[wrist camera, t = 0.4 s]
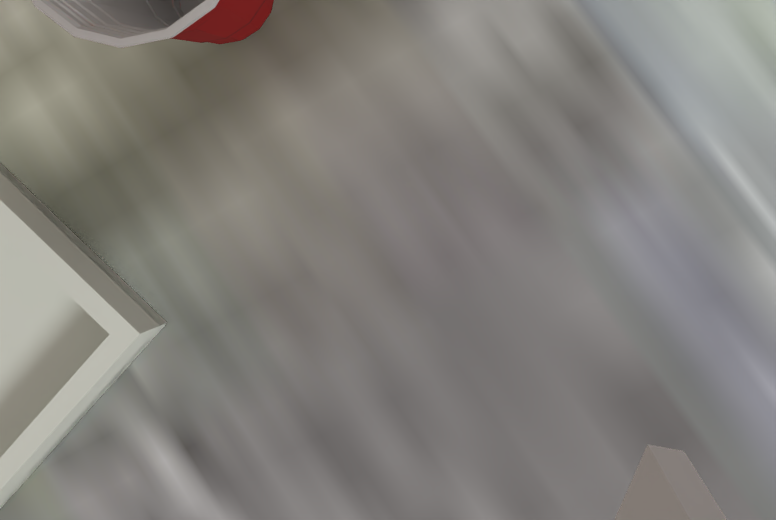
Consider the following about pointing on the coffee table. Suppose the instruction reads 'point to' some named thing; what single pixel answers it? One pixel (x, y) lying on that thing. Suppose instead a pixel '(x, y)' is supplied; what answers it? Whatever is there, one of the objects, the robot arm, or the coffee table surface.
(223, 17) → the plastic cup
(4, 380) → the tray
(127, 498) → the coffee table surface
